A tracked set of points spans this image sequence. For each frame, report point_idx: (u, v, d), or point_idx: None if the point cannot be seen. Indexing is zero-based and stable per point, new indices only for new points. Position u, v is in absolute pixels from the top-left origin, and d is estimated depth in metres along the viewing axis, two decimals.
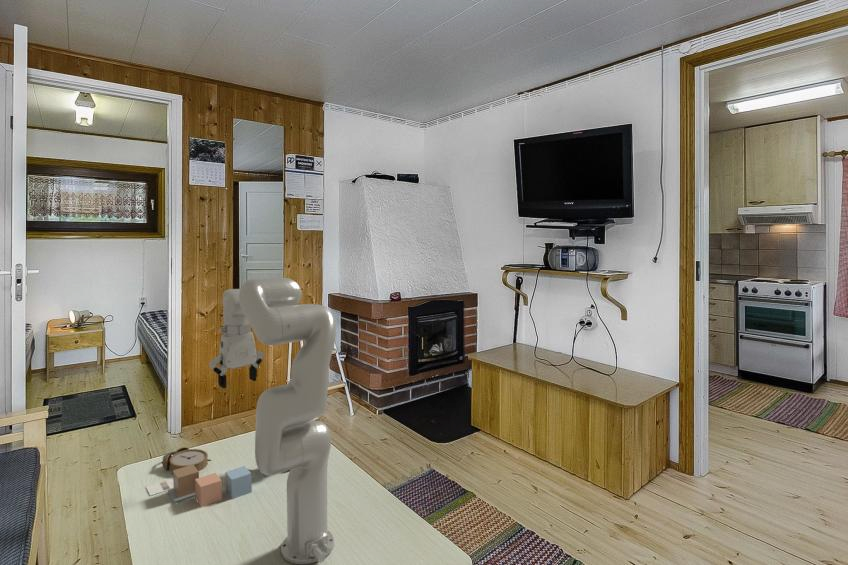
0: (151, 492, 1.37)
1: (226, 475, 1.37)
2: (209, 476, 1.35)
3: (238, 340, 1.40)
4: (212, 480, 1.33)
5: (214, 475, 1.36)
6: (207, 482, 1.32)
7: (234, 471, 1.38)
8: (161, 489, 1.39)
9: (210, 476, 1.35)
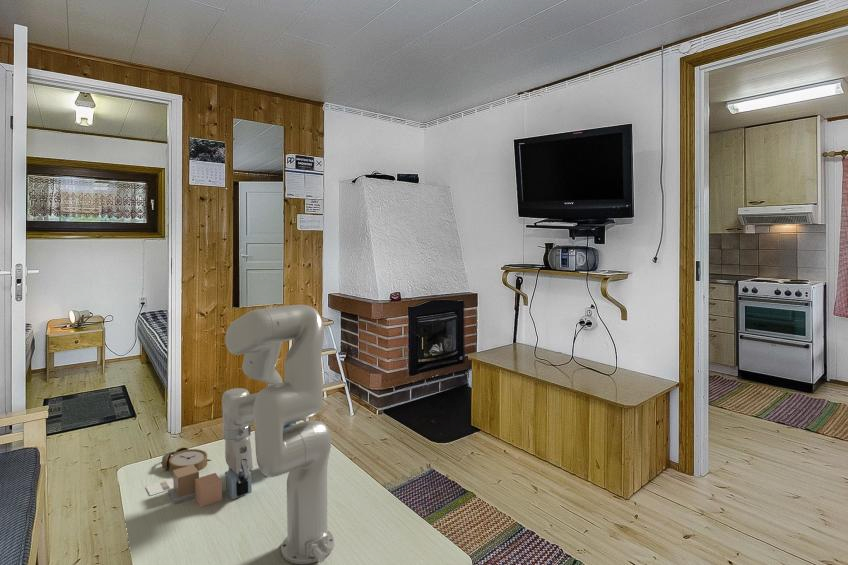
0: (151, 492, 1.37)
1: (226, 475, 1.37)
2: (209, 476, 1.35)
3: None
4: (212, 480, 1.33)
5: (214, 475, 1.36)
6: (207, 482, 1.32)
7: None
8: (161, 489, 1.39)
9: (210, 476, 1.35)
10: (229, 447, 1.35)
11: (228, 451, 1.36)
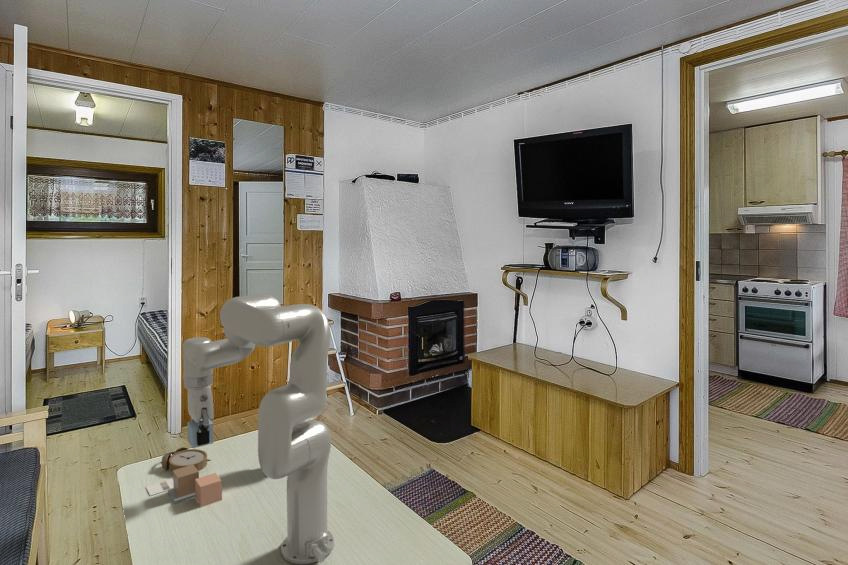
0: (151, 492, 1.37)
1: (188, 425, 1.35)
2: (209, 476, 1.35)
3: None
4: (212, 480, 1.33)
5: (214, 475, 1.36)
6: (207, 482, 1.32)
7: None
8: (161, 489, 1.39)
9: (210, 476, 1.35)
10: (190, 396, 1.33)
11: (189, 400, 1.34)
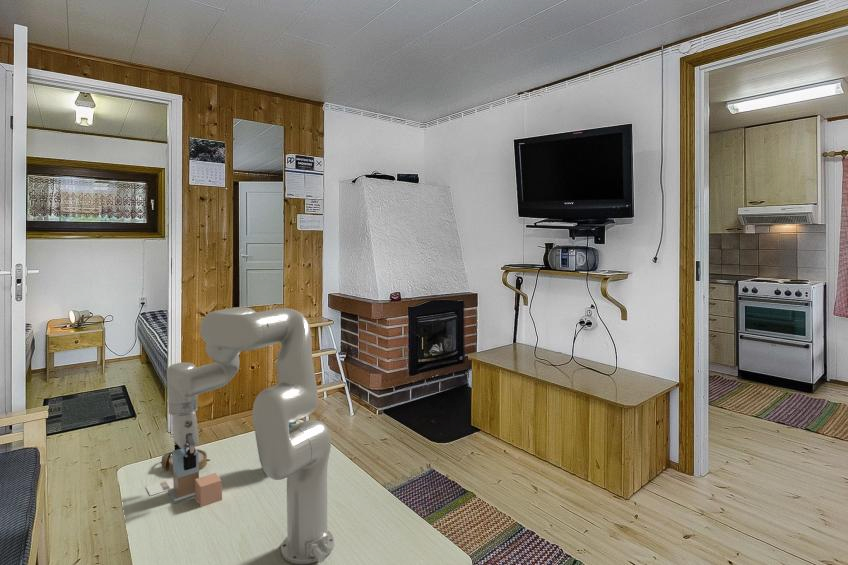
0: (151, 492, 1.37)
1: (173, 454, 1.36)
2: (209, 476, 1.35)
3: None
4: (212, 480, 1.33)
5: (214, 475, 1.36)
6: (207, 482, 1.32)
7: (181, 450, 1.37)
8: (161, 489, 1.39)
9: (210, 476, 1.35)
10: (174, 422, 1.33)
11: (174, 426, 1.34)
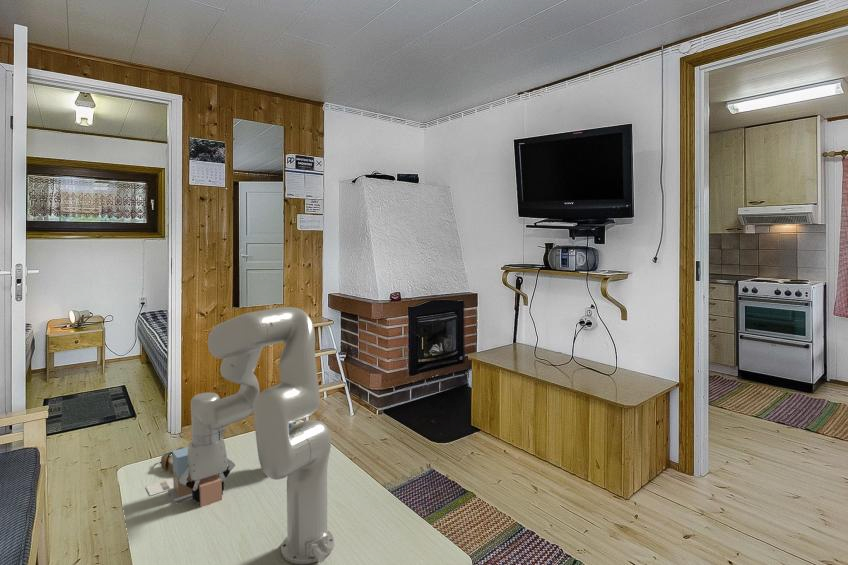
0: (151, 492, 1.37)
1: (173, 454, 1.36)
2: None
3: None
4: (212, 480, 1.33)
5: None
6: (207, 482, 1.32)
7: (181, 450, 1.37)
8: (161, 489, 1.39)
9: (210, 476, 1.35)
10: (212, 452, 1.31)
11: (208, 459, 1.31)
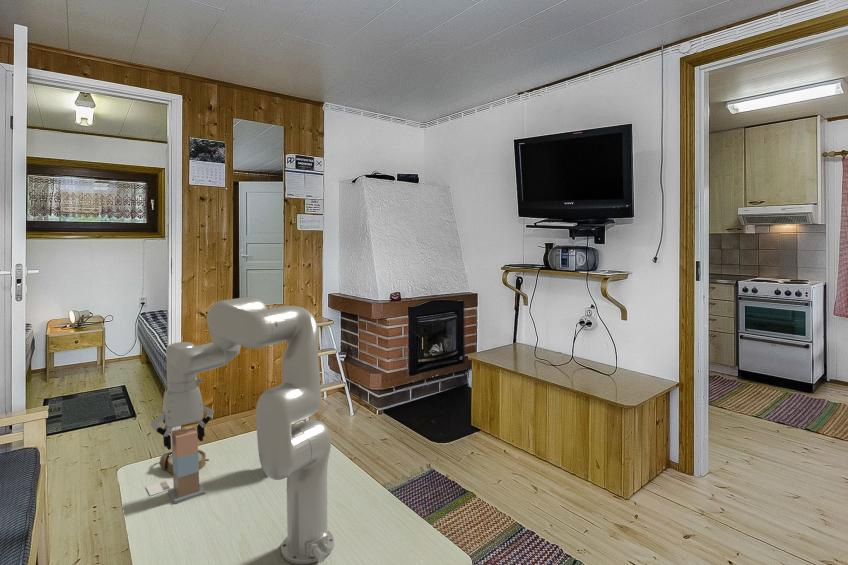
0: (151, 492, 1.37)
1: (173, 454, 1.36)
2: (185, 429, 1.37)
3: None
4: (188, 432, 1.35)
5: (191, 428, 1.38)
6: (183, 434, 1.34)
7: None
8: (161, 489, 1.39)
9: (186, 429, 1.37)
10: (188, 400, 1.33)
11: (184, 406, 1.32)
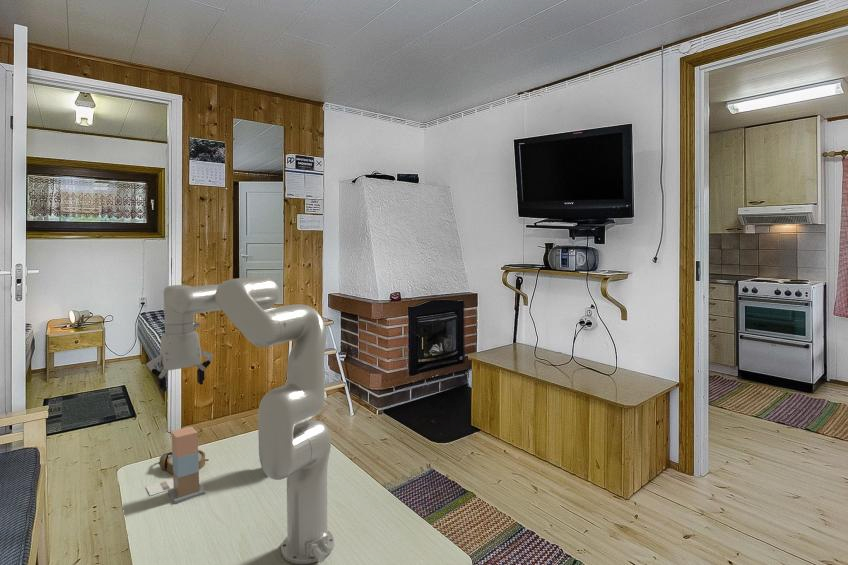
0: (151, 492, 1.37)
1: (173, 454, 1.36)
2: (186, 429, 1.37)
3: None
4: (188, 432, 1.35)
5: (191, 428, 1.38)
6: (183, 434, 1.34)
7: None
8: (161, 489, 1.39)
9: (186, 429, 1.37)
10: (185, 343, 1.31)
11: (181, 349, 1.31)
